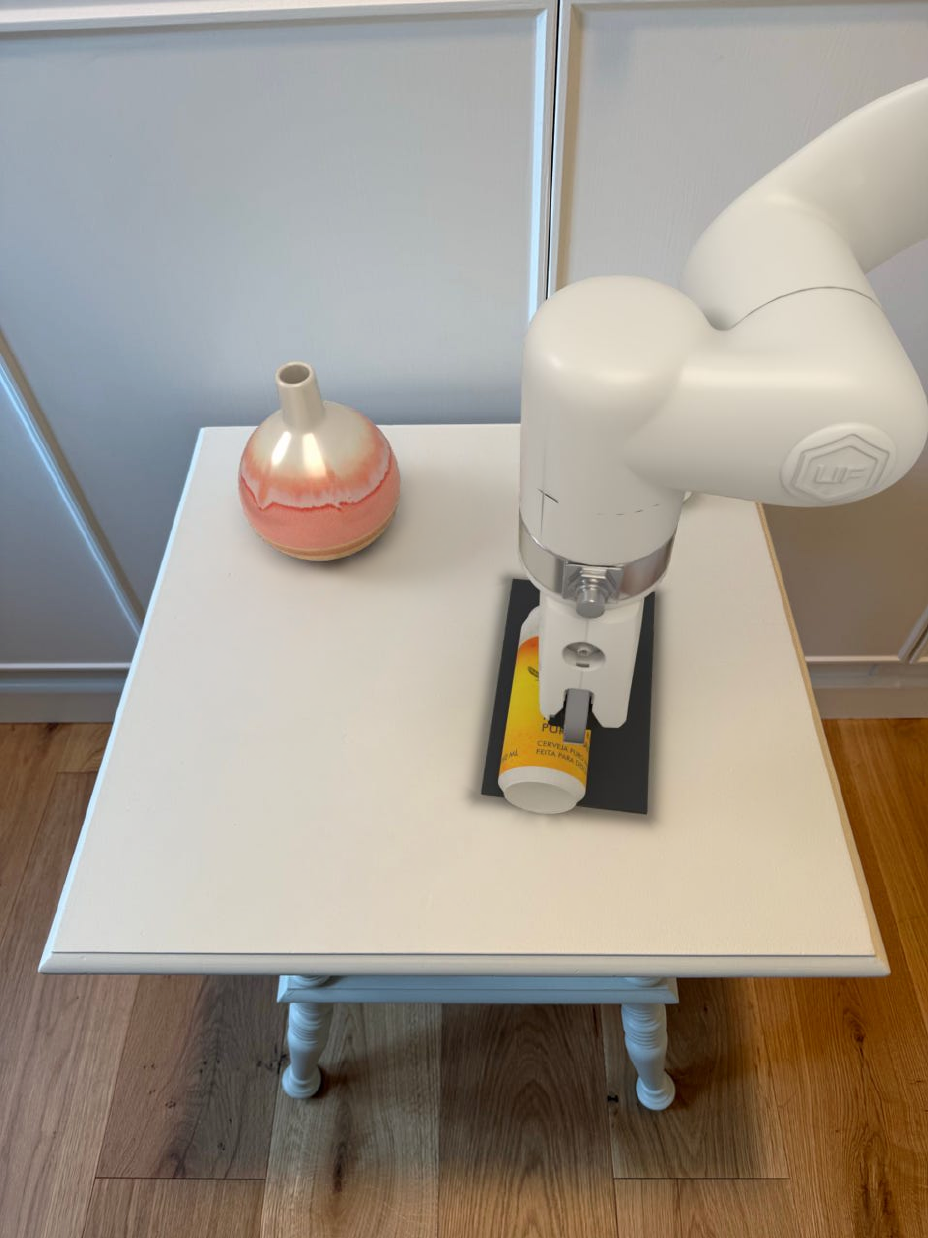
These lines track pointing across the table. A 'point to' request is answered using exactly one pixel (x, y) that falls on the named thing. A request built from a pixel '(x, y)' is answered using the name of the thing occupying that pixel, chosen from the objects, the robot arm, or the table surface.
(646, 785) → the mat
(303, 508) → the vase
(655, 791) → the table surface
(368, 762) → the table surface
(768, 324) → the robot arm
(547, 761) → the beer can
